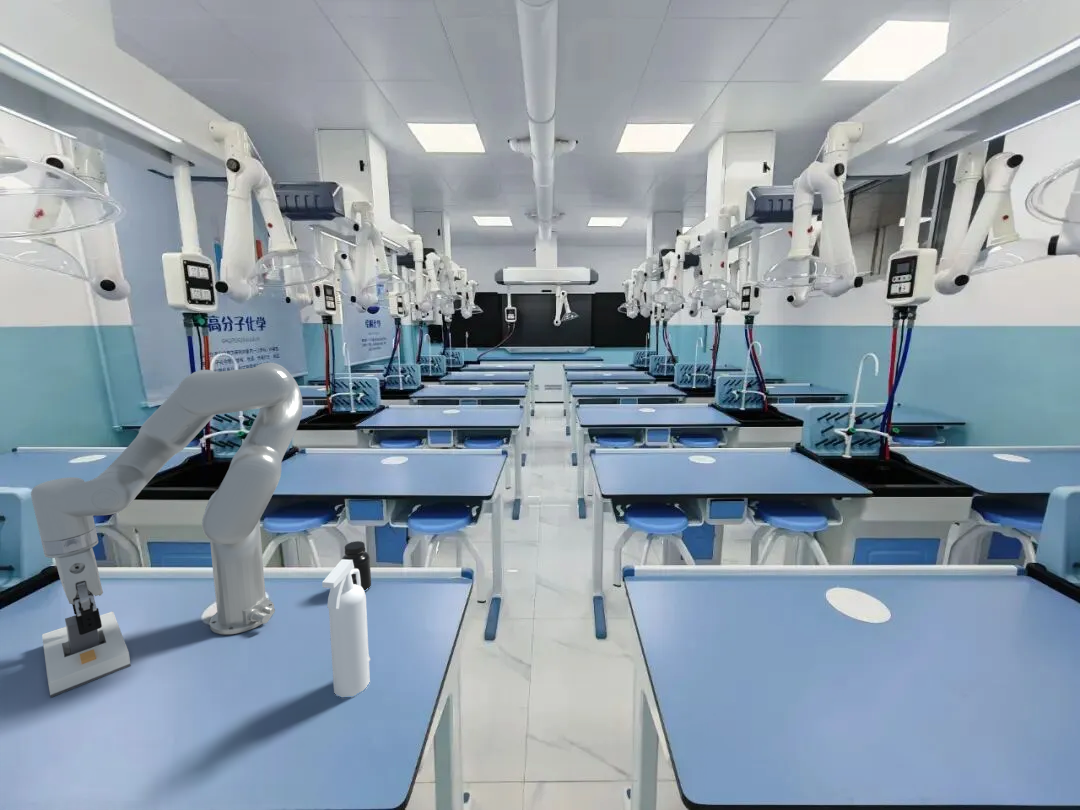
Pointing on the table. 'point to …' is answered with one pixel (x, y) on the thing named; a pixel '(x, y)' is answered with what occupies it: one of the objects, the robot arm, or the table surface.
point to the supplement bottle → (359, 562)
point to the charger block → (80, 637)
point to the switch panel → (84, 657)
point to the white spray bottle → (348, 630)
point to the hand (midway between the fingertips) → (88, 620)
